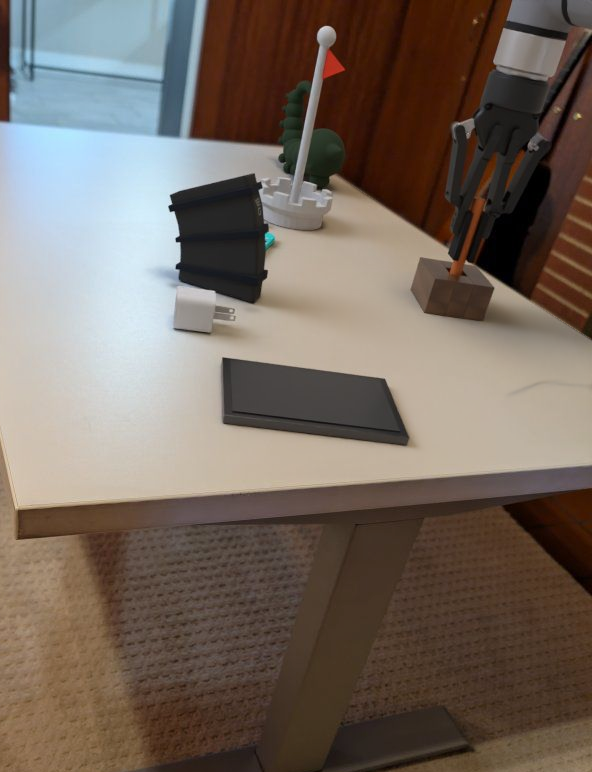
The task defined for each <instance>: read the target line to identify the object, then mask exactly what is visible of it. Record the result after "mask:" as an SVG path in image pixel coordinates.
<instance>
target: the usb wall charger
mask: <svg viewBox="0 0 592 772" xmlns="http://www.w3.org/2000/svg"><path fill="white" fill-rule="evenodd" d="M216 302H217V301H216V292H215V291H212V290H209V289H205V288H198V287H197V288H196V287H188V286H182V285H177V286H176V294H175V301H174V308H173V309H174V310H173V321H172V328H173V329H178V330H185V331H194V332H201V333H207V334H208V333H209V334H210V333H211V334H212V331H213V322H214V320H218V321H219V320H220V321H226V322H227V321H228V322H236V317H237V316H236V314H235V312H236V308H233V307H230V306H223V305H217V304H216ZM230 310H232V311H231V312H230ZM234 314H235V315H234ZM231 317H233V319H231Z"/></svg>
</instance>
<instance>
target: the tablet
mask: <svg viewBox="0 0 592 772" xmlns="http://www.w3.org/2000/svg"><path fill="white" fill-rule="evenodd" d="M220 371H221V372H220V373H221V374H220V375H221V376H220V377H221V403H222V404H221V406H222V407H221V408H222V411H221V412H222V423H223V424H228V425H237V426H245V427H253V428H262V429H269V430H277V431H278V430H279V431H286V432H287V431H288V432H294V433H304V434H309V435H311V434H312V435H318V436H319V435H320V436H329V437H335V438H344V439H345V438H346V439H353V440H359V441H369V442H379V443H386V444H393V445H402V446H408V443H409V440H410V435H409V433H408V431H407V429H406V426H405V424H404V421H403V418H402V416H401V414H400V412H399V409H398V406H397V404H396V401H395V399H394V396H393V394H392V393H391V389H390V387H389V385H388V382H387V380H386V378H384V377H377V376H376V377H375V376H370V375H361V374H353V373H345V372H338V371H331V370H322V369H316V368H309V367H308V368H307V367H301V366H294V365H293V366H292V365H287V364H286V365H283V364H277V363H269V362H263V361H254V360H248V359H239V358H232V357H226V356H225V357H224V356H222V357H221V361H220Z"/></svg>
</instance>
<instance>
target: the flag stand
mask: <svg viewBox="0 0 592 772" xmlns="http://www.w3.org/2000/svg"><path fill="white" fill-rule="evenodd" d="M336 40H337V33H336V31H335V29H334V28H333V27H332V26H330V25H324V26H322V27H321V28H319V30H318V31H317V34H316V41H317V43H318V44H319V48H318V53H317V57H316V63H315V69H314V73H313V79H312V83H311V84H312V89H311V94H310V96H309V99H308V104H307V105H308V106H307V109H306V114H305V120H304V124H303V129H302V133H303V135H302V140H301V145H300V150H299V155H298V160H297V166H296V171H295V176H293V182H292V179H291V178H290V177H279V176H277V177H276V180H275V183H272V179H271V178H269V177H266V176H265V177H262V178H260V179H259V182H261V183H262V187H263V188H262V189H260V190H259V193H260V198H261V202H262V206H263V217H264V221H266V222H268V223H271V224H272V225H276V226H280V227H282V228H287V229H291V230H299V231H313V230H317V229H320V228H321V227H322V223H323V218H324V216H325V215H327V214H328V213H329V212H331V210H332V206H333V201H334V193H333V192H332V191H330V190H329V189H325V188H321V192H318V191H317V189H318V188H317V185H316V184H313V183H310V181H305V180H304V175H305V174H304V171H305V166H306V161H307V156H308V151H309V147H310V142H311V137H312V132H313V130H314V127H315V121H316V117H317V111H318V108H319V107H318V106H319V102H320V97H321V92H322V87H323V81H324V79H326V78H329V77H331V76H334V75H336V74H339V73H341V72H343V71H345V70H346V69H345V68H344V67H343V65H342V64H341V63H340V61H339V59H337V57H336V56H335V55H334V54H333V51H331V49H330V47H332V46H333V45H334V44H335V42H336Z"/></svg>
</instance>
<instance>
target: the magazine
mask: <svg viewBox="0 0 592 772" xmlns="http://www.w3.org/2000/svg"><path fill="white" fill-rule="evenodd" d="M262 188H263V187H262V183H261V182H260V181H258V180H257V177H256V173H254V172H253V173H249V174H245V175H241V176H240V175H239V176H236V177H232V178H228V179H223V180H219V181H215V182H212V183H206V184H203V185H198V186H194V187H191V188H186V189H181V190H178V191H175V192H173V193H170V194H169V199H170V202H171V204H169V205H168V206H167V208H168V212H169V213H174V215H175V219H176V222H177V229H178V236H177V237H175V243H177V244H178V243H179V247H180V248H179V250H180V254H179V255H180V256H179V257H180V259H179V262H178V263H175V268H174V269H175V270H177V271H179V272H178V280H179V281H181V282H183V283H187V284H190V285H192V286H196V287H200V288H202V289H205V290H211V291H215V293H218V294H222V295H226V296H229V297H231V298H236V299H238V300H241V301H244V302H248V303H255V302H256V301H257V300H258V299H259V298H260V297H261V295H262V288H263V282H264V281H265V280H267V278H268V273H269V270H268V269H265V264H266V252H267V249H266V248H265V234H266V233H270V229H269V228H270V227H269V222H268V223H267V222H266V223H265V220H264V217H263V206H262V202H261V198H260V193H259V190H260V189H262Z"/></svg>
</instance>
